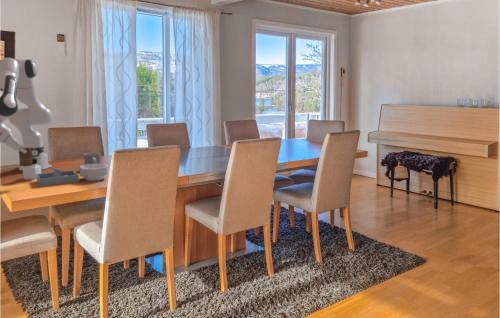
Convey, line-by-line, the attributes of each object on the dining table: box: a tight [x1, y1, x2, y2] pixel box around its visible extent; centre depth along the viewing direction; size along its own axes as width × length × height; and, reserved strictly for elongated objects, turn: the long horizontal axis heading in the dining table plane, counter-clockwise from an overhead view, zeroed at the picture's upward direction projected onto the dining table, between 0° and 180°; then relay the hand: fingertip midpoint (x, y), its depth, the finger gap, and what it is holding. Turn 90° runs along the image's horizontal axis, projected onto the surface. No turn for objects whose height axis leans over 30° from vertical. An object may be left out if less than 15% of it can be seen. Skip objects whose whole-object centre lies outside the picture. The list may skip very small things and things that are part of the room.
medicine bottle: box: [22, 158, 42, 180], centre depth 243 cm, size 7×7×12 cm
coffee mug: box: [83, 152, 102, 165], centre depth 268 cm, size 13×10×10 cm
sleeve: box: [18, 148, 33, 167], centre depth 225 cm, size 6×6×9 cm
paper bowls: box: [79, 163, 109, 182], centre depth 241 cm, size 15×15×8 cm
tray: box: [36, 166, 80, 188], centre depth 234 cm, size 15×20×8 cm
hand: (25, 151), depth 224 cm, fingers closed on sleeve, 6 cm apart
